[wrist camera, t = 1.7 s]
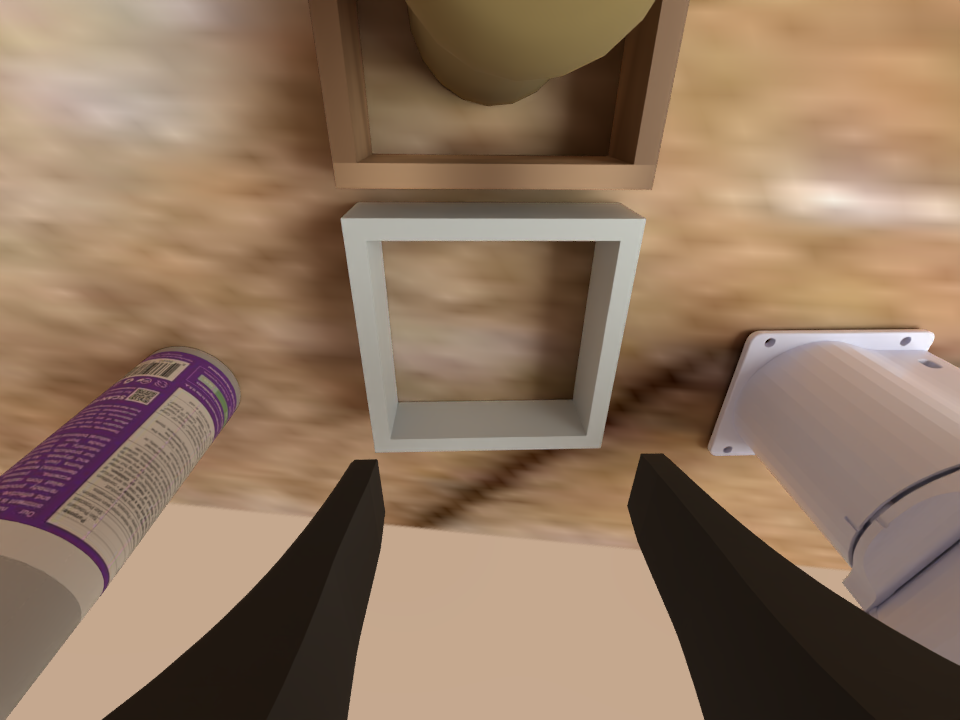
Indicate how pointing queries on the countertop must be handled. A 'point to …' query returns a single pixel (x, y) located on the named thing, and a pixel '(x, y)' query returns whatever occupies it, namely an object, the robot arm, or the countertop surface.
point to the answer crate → (493, 419)
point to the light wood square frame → (623, 169)
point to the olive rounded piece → (515, 41)
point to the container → (97, 500)
